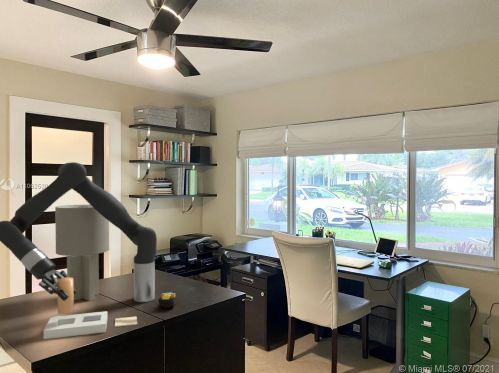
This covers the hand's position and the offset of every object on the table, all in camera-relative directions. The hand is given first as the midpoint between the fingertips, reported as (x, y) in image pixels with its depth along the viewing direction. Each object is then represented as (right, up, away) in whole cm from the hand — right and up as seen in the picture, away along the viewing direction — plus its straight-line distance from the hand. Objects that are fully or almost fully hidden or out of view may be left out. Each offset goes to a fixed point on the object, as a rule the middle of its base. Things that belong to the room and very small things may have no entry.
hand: (70, 296), depth 139 cm
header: (+2, -12, +1) cm, 12 cm away
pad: (+18, -12, +8) cm, 23 cm away
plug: (-2, -6, 0) cm, 6 cm away
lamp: (-12, -12, +39) cm, 42 cm away
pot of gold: (+30, -12, +28) cm, 43 cm away
